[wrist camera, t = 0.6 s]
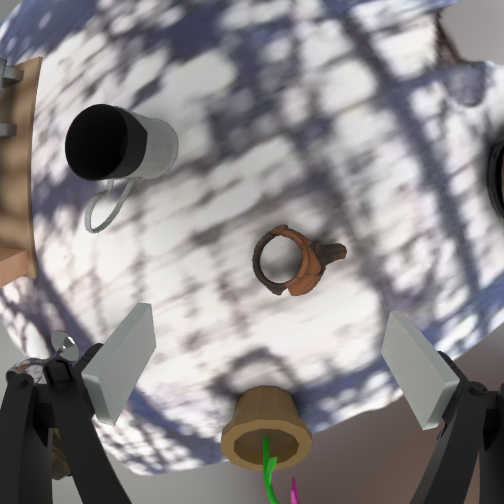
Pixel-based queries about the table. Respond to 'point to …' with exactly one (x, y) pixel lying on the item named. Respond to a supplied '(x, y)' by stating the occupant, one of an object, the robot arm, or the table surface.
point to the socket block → (12, 265)
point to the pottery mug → (310, 265)
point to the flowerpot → (267, 435)
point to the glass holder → (118, 150)
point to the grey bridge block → (4, 78)
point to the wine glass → (33, 365)
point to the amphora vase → (497, 176)
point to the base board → (18, 164)
